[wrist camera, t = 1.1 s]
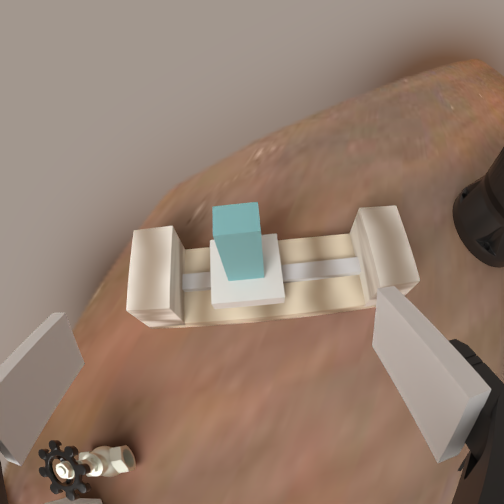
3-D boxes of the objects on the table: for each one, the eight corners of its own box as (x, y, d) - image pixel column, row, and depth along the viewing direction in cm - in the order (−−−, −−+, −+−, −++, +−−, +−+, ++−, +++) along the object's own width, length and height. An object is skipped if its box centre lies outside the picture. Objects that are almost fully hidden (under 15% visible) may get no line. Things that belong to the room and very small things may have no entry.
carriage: (276, 245, 40) (276, 178, 29) (284, 305, 36) (288, 255, 25) (213, 251, 40) (191, 187, 29) (215, 311, 37) (189, 265, 25)
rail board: (378, 235, 43) (395, 202, 36) (396, 303, 38) (420, 280, 31) (155, 257, 43) (134, 227, 36) (151, 328, 39) (126, 310, 31)
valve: (144, 478, 29) (97, 500, 19) (102, 484, 29) (49, 500, 18) (127, 432, 32) (74, 437, 22) (87, 439, 32) (30, 442, 21)
